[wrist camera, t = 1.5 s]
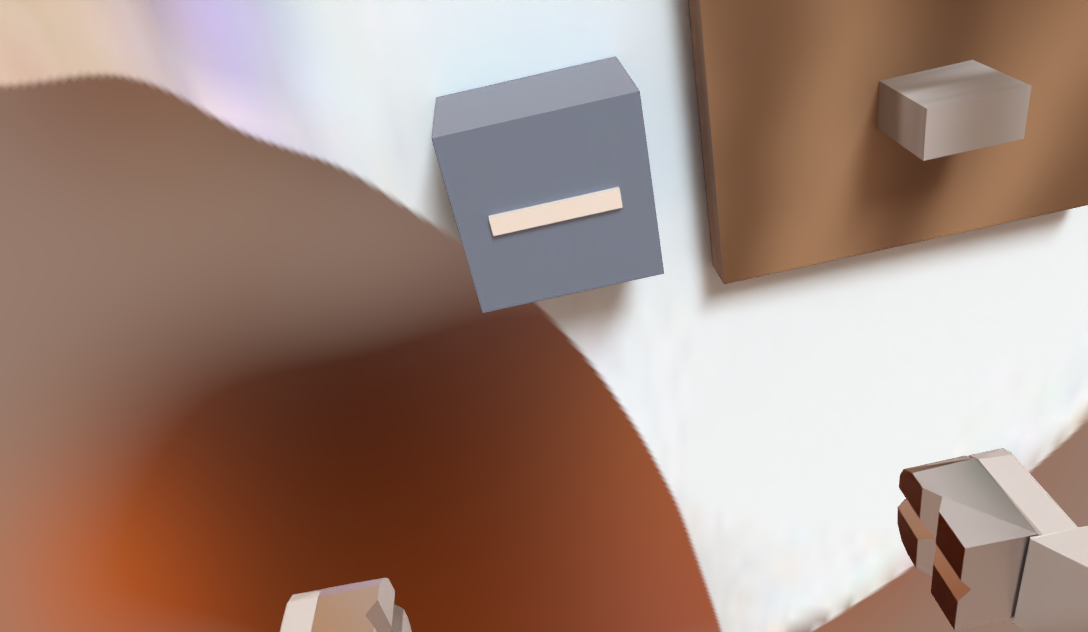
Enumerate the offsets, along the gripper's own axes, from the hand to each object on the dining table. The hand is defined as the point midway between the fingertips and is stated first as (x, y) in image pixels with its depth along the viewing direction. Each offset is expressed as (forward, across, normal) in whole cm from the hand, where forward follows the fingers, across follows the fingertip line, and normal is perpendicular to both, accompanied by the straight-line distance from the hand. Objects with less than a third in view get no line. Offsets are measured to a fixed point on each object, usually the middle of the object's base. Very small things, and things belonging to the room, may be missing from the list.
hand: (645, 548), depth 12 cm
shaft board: (+17, -12, 0) cm, 21 cm away
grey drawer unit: (+17, 0, 0) cm, 17 cm away
